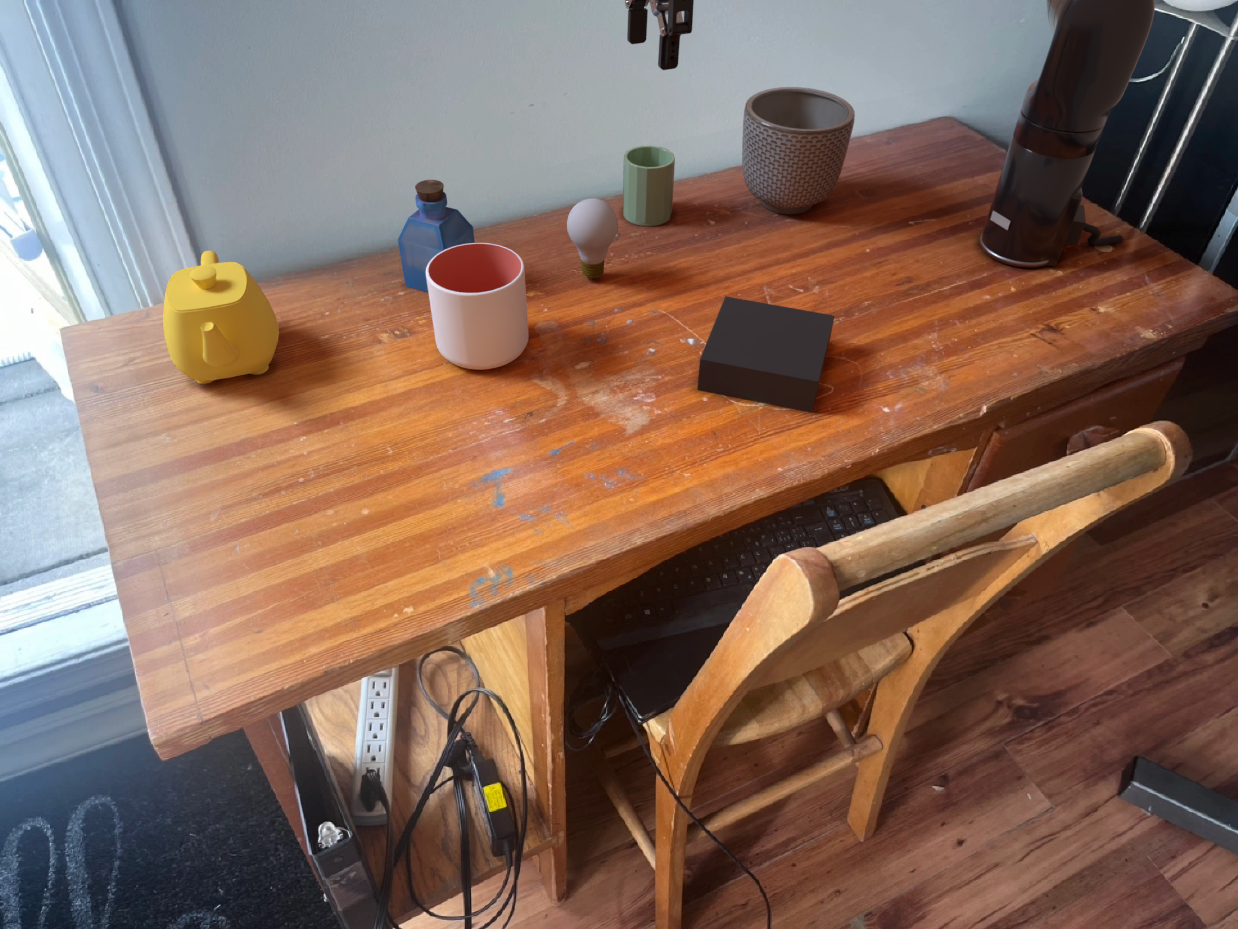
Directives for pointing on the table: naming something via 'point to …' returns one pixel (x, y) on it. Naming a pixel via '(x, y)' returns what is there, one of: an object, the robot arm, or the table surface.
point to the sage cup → (648, 185)
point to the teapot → (218, 321)
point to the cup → (478, 305)
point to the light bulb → (592, 233)
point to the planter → (794, 146)
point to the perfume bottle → (430, 232)
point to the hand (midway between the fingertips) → (651, 54)
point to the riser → (766, 353)
